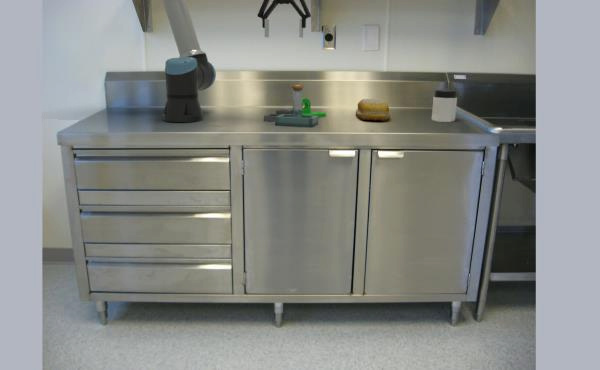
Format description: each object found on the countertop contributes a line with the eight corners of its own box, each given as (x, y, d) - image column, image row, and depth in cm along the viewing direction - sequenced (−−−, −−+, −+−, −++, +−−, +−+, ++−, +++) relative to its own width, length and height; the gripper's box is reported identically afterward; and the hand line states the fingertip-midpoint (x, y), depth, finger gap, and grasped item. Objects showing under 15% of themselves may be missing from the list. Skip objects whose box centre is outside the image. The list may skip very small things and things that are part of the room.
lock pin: (289, 122, 177) (290, 85, 174) (292, 120, 181) (293, 84, 178) (301, 122, 176) (302, 85, 173) (304, 121, 180) (305, 84, 177)
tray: (275, 125, 176) (275, 116, 176) (283, 122, 185) (283, 114, 184) (312, 127, 173) (312, 118, 172) (318, 123, 182) (318, 115, 181)
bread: (358, 122, 189) (359, 101, 187) (352, 115, 215) (353, 96, 213) (394, 123, 189) (395, 102, 187) (383, 115, 215) (384, 96, 213)
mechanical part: (306, 120, 195) (306, 99, 193) (296, 118, 199) (296, 98, 197) (328, 118, 202) (329, 98, 200) (319, 116, 206) (319, 97, 205)
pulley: (272, 117, 198) (272, 107, 197) (279, 115, 207) (279, 105, 206) (294, 118, 196) (294, 108, 195) (300, 116, 204) (300, 106, 203)
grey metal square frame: (263, 121, 188) (263, 115, 187) (269, 119, 194) (269, 113, 194) (281, 121, 186) (281, 116, 186) (286, 119, 193) (286, 114, 192)
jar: (458, 122, 193) (461, 91, 190) (441, 123, 190) (444, 91, 187) (445, 119, 201) (447, 89, 198) (427, 120, 198) (430, 89, 195)
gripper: (248, -24, 183) (249, 36, 189) (314, -26, 177) (313, 36, 182) (255, -21, 190) (256, 37, 196) (319, -22, 184) (318, 37, 189)
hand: (283, 37), depth 189 cm, fingers open, 13 cm apart
